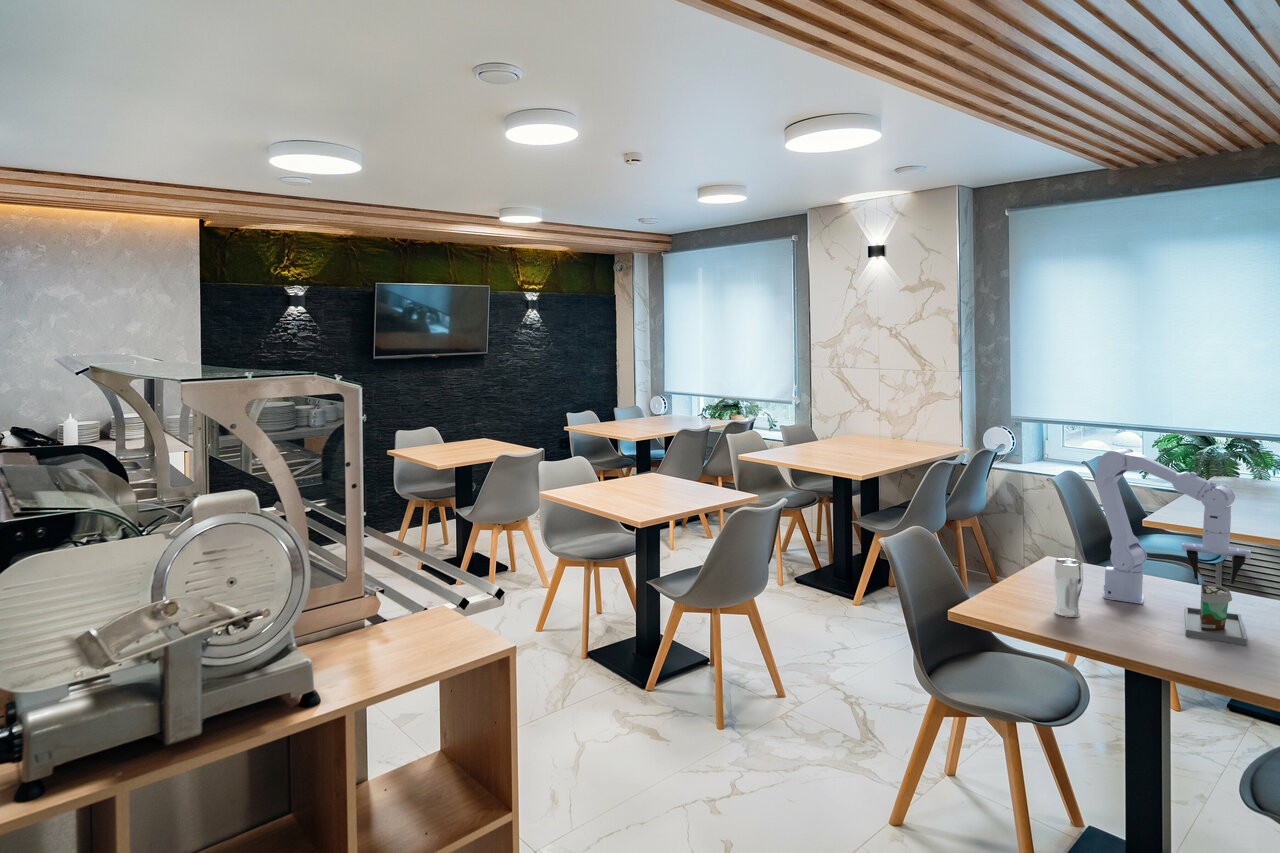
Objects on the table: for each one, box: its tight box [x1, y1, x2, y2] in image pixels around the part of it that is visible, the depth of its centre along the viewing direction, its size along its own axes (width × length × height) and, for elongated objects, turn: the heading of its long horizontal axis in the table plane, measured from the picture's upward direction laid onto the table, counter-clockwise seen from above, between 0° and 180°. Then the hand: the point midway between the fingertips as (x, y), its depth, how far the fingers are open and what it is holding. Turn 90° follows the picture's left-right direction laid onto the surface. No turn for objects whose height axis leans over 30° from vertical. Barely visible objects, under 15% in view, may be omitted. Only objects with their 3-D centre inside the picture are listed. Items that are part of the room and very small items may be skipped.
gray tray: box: [1184, 606, 1248, 646], centre depth 191 cm, size 12×20×2 cm, turn 144°
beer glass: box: [1053, 558, 1084, 618], centre depth 203 cm, size 7×7×15 cm
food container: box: [1200, 581, 1233, 631], centre depth 191 cm, size 12×6×10 cm, turn 144°
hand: (1213, 580), depth 197 cm, fingers open, 7 cm apart
